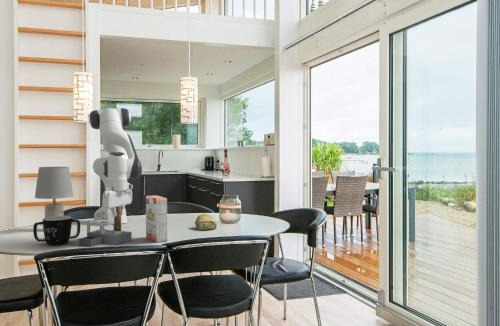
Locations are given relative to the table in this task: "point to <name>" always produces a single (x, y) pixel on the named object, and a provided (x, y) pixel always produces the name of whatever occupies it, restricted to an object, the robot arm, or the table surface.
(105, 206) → the robot arm
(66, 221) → the mug
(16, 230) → the table surface
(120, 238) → the grey stand
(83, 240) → the block
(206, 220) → the pastry
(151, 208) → the cracker box
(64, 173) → the lamp
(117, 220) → the dowel
